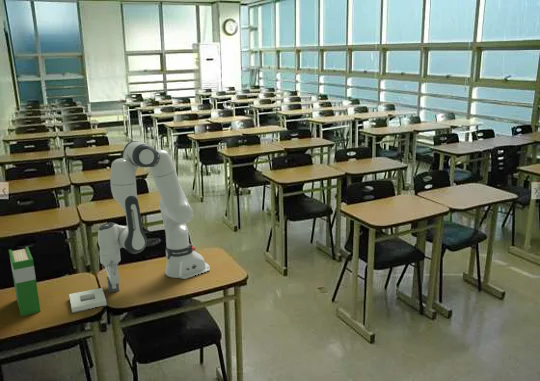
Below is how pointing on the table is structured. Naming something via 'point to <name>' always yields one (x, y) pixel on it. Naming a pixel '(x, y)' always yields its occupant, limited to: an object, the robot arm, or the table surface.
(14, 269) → the hardback book
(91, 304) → the socket plate
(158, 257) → the table surface
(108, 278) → the plug
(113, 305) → the table surface
